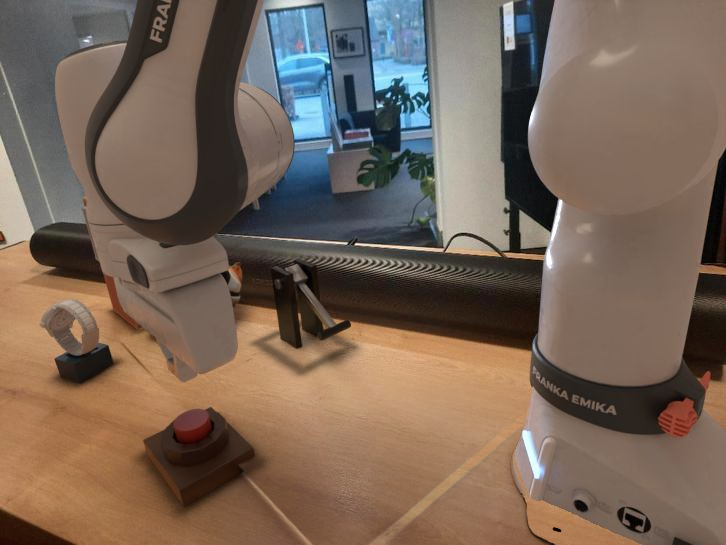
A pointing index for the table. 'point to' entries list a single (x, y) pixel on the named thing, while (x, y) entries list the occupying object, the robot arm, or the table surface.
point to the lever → (316, 305)
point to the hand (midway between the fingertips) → (183, 374)
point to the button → (192, 426)
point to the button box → (198, 458)
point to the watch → (76, 341)
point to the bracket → (295, 303)
